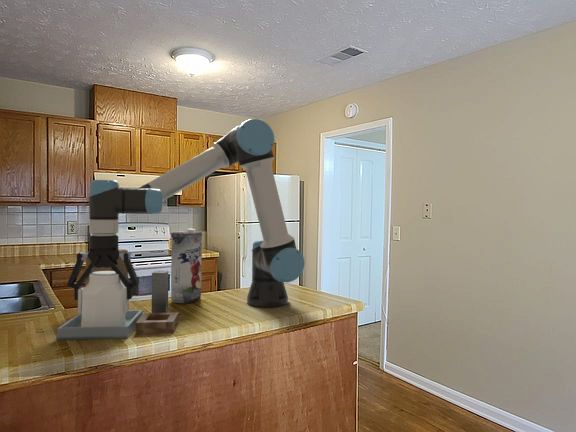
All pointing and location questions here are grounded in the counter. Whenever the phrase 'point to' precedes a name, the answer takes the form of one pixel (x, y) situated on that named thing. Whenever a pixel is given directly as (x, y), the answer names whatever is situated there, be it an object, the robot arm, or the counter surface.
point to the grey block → (160, 292)
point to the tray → (98, 328)
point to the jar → (103, 300)
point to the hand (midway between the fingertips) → (103, 311)
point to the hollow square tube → (157, 323)
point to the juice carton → (186, 266)
